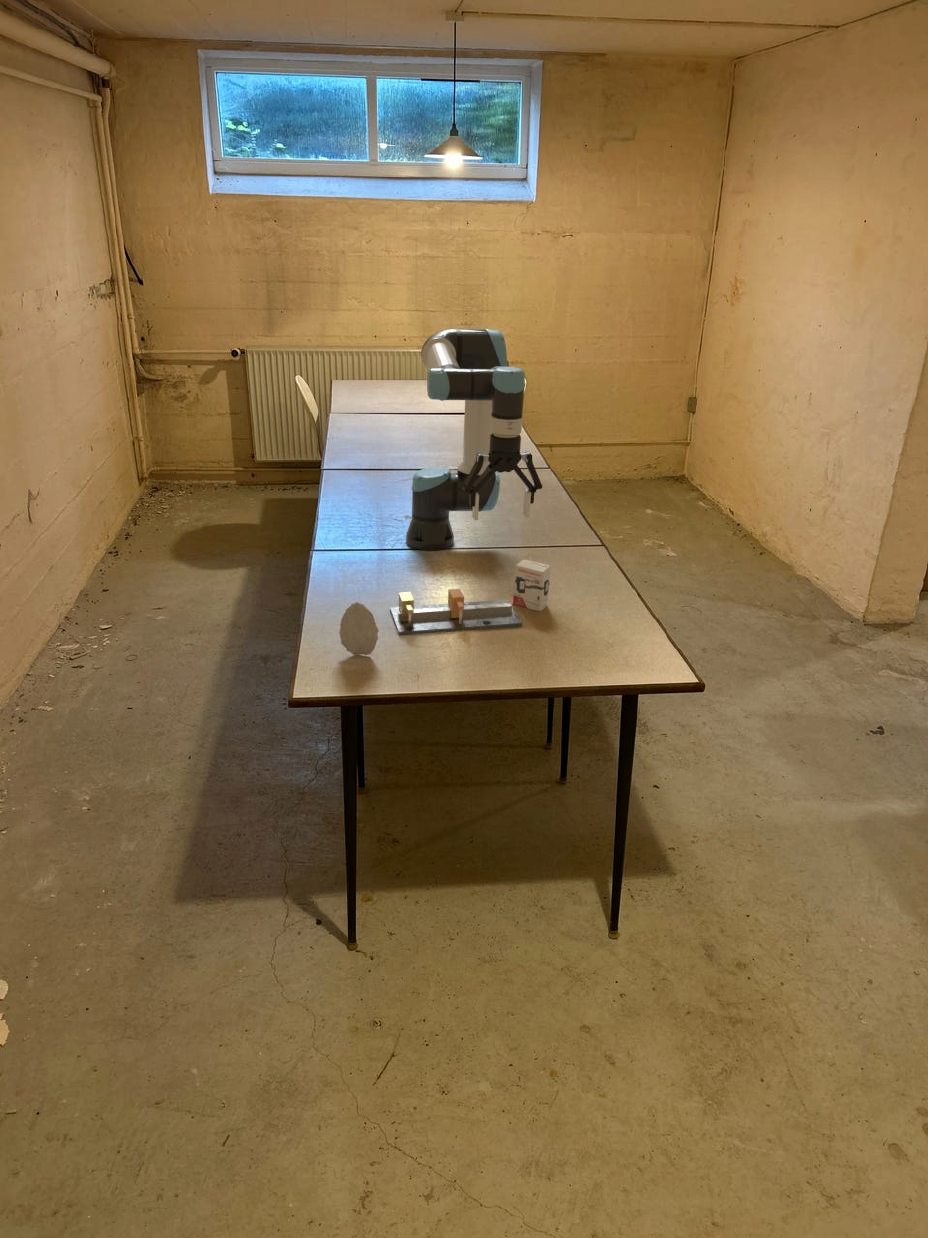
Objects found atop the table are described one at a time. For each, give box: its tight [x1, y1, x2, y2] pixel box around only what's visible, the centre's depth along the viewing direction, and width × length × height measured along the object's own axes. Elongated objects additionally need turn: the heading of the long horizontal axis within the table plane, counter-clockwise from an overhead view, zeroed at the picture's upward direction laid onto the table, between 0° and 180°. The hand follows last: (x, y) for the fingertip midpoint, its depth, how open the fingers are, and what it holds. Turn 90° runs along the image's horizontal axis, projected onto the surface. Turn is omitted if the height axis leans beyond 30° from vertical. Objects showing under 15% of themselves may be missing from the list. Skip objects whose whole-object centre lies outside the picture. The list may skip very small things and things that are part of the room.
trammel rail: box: [398, 591, 513, 628], centre depth 218 cm, size 9×30×6 cm, turn 103°
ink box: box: [512, 559, 552, 612], centre depth 228 cm, size 8×5×12 cm, turn 60°
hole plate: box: [389, 599, 523, 636], centre depth 221 cm, size 14×32×1 cm, turn 103°
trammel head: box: [447, 588, 465, 624], centre depth 218 cm, size 9×3×6 cm, turn 13°
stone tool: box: [338, 601, 379, 656], centre depth 198 cm, size 9×3×15 cm, turn 93°
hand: (500, 517), depth 215 cm, fingers open, 13 cm apart
